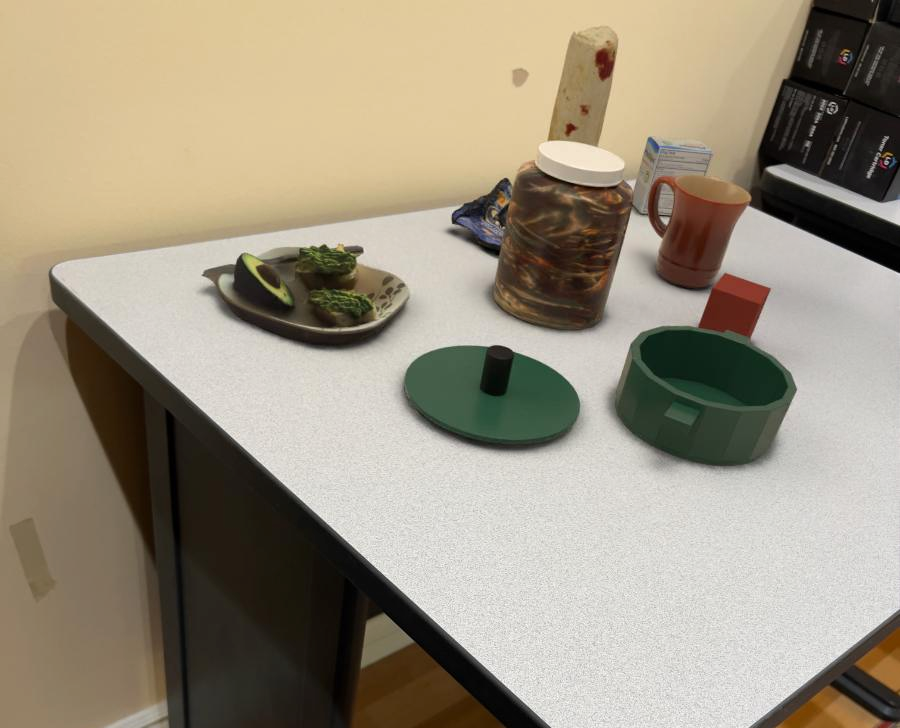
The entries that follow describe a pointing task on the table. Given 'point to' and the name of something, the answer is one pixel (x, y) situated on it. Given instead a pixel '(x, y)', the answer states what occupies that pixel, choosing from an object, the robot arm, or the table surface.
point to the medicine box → (668, 168)
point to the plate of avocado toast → (310, 293)
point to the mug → (695, 227)
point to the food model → (584, 86)
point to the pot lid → (492, 394)
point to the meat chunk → (734, 305)
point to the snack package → (486, 215)
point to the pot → (703, 394)
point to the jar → (563, 235)
